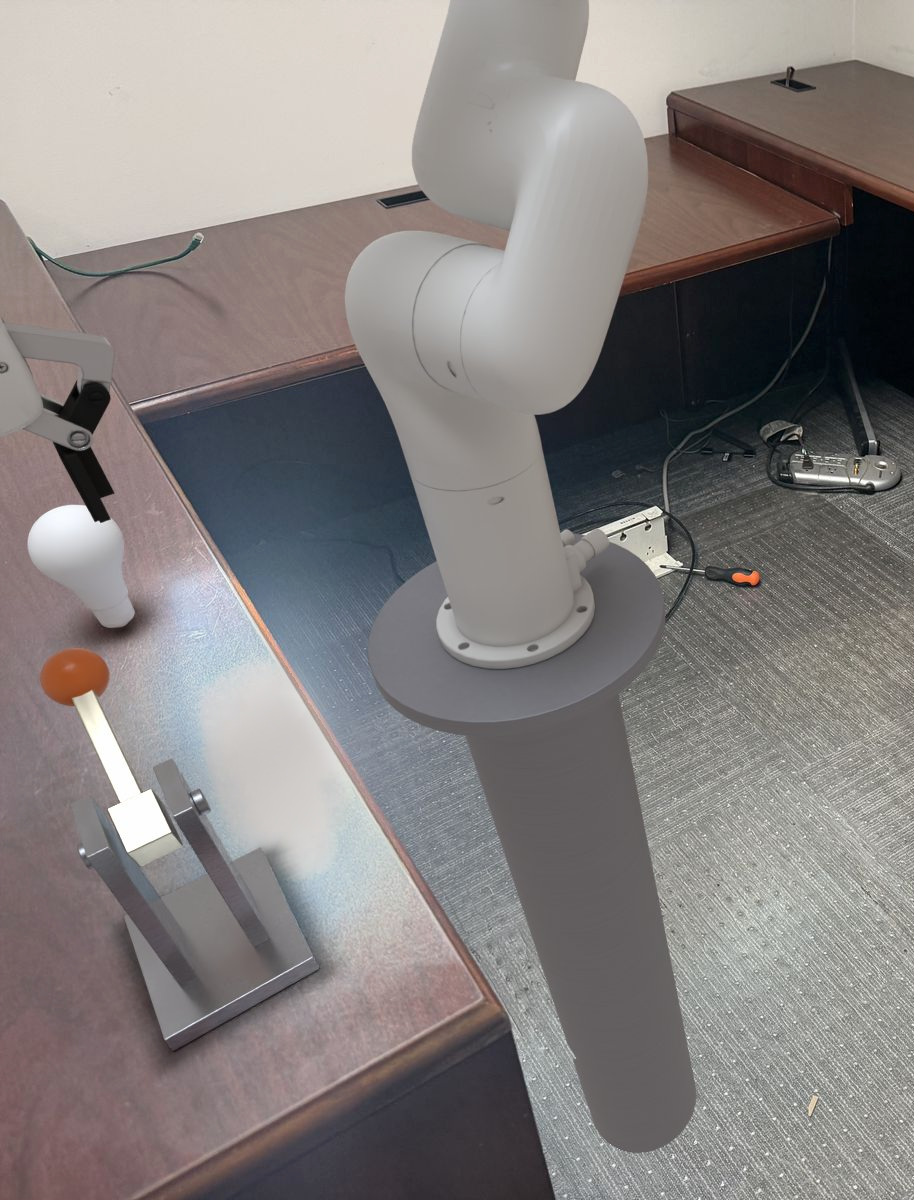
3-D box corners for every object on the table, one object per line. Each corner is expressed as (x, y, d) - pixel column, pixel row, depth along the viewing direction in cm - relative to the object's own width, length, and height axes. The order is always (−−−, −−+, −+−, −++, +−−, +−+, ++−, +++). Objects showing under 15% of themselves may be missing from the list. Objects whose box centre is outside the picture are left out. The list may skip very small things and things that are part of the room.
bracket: (131, 927, 65) (28, 785, 57) (267, 858, 69) (187, 715, 61) (173, 1052, 59) (63, 912, 51) (319, 969, 63) (239, 826, 55)
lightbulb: (92, 607, 90) (27, 495, 83) (171, 595, 90) (113, 483, 83) (69, 655, 85) (-2, 541, 78) (152, 642, 86) (90, 528, 79)
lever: (43, 679, 61) (21, 653, 58) (105, 654, 63) (86, 628, 60) (132, 875, 57) (113, 856, 55) (195, 843, 59) (180, 824, 56)
